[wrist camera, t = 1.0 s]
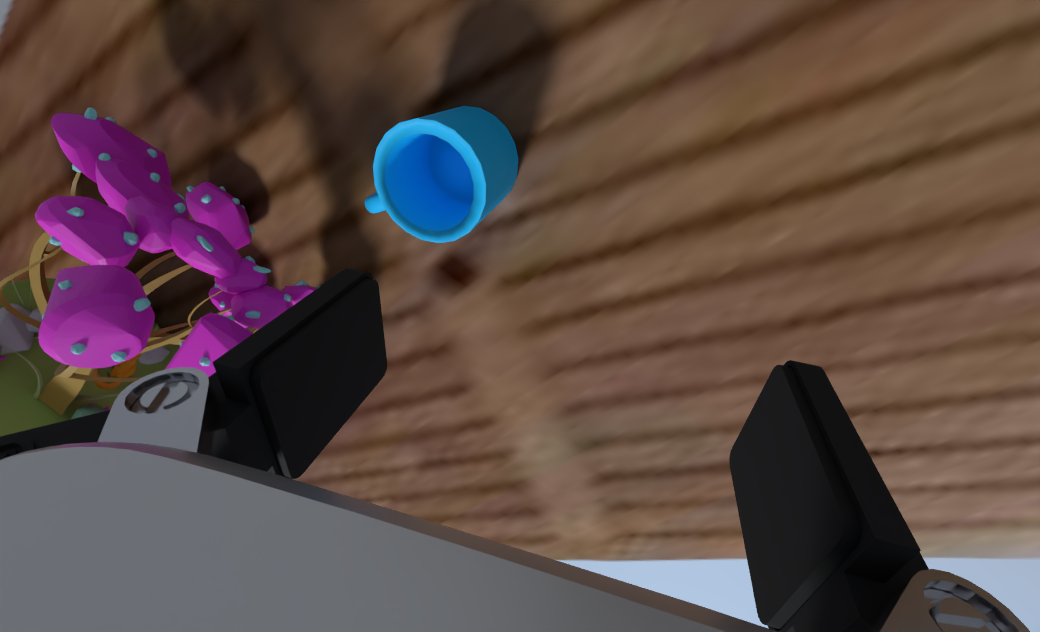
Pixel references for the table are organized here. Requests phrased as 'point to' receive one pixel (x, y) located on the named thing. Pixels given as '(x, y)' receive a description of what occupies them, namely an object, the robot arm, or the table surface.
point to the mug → (443, 172)
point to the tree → (122, 282)
